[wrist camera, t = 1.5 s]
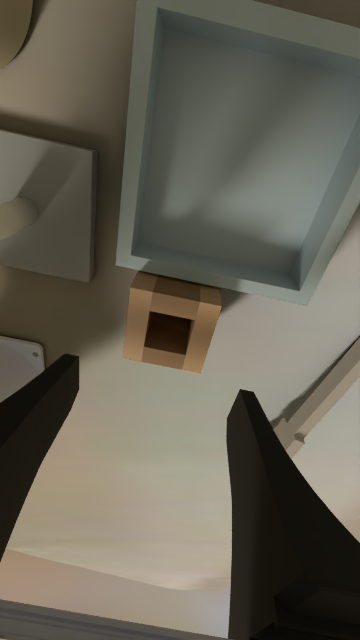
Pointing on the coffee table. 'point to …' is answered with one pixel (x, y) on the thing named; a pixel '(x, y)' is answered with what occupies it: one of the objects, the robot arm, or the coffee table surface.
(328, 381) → the caliper
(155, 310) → the block
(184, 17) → the tray
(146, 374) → the coffee table surface
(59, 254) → the grey peg base
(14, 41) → the travel mug
